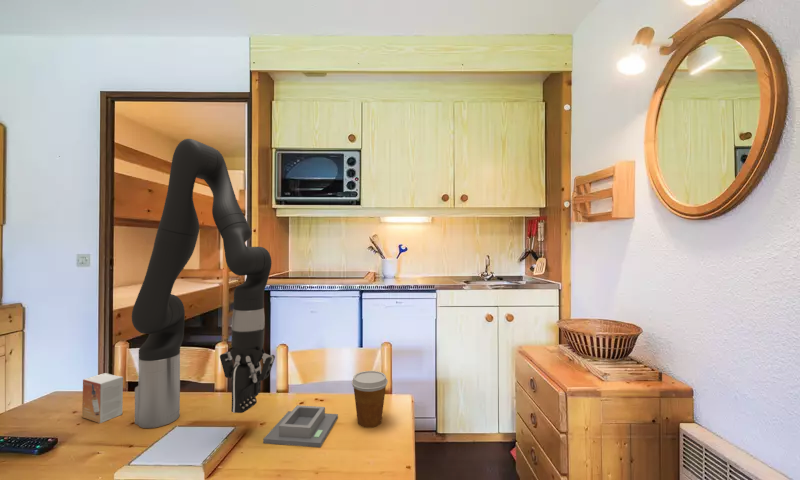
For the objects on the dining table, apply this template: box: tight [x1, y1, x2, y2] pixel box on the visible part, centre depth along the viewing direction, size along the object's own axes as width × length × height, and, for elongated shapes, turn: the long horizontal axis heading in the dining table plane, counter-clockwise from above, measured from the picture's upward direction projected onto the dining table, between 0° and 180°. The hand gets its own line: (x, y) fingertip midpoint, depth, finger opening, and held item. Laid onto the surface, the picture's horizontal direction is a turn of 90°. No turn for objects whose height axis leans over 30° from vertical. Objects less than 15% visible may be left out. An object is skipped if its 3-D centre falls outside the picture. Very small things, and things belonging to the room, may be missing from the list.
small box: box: [81, 372, 124, 424], centre depth 98 cm, size 8×6×10 cm
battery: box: [230, 364, 258, 414], centre depth 89 cm, size 7×4×11 cm, turn 167°
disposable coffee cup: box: [351, 370, 388, 429], centre depth 95 cm, size 10×10×12 cm
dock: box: [262, 405, 339, 448], centre depth 91 cm, size 14×14×4 cm
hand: (246, 394), depth 89 cm, fingers closed on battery, 4 cm apart
